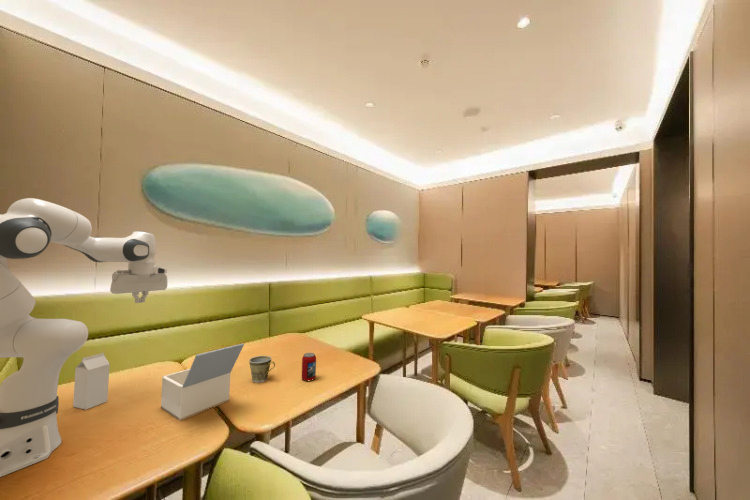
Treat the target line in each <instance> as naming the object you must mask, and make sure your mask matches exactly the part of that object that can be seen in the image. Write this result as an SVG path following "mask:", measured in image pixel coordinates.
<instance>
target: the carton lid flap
mask: <svg viewBox="0 0 750 500" xmlns="http://www.w3.org/2000/svg"><path fill="white" fill-rule="evenodd" d="M244 346H245V343H242V342H241V343H239V344H234V345H230V346H225V347H226V348H225V347H222V348H219V349H215V350H210V351H206V352H201V353H199V354H198V353H197V354H196V355H195V357H194V358H193V361H192V364H191V366H190V368H189V369H190V370H189V373H188V375H187V377H186V380H185V382H184V384H183V388H185V387H188V386H191V385H194V384H197V383H200V382H203V381H206V380H209V379H212V378H215V377H218V376H221V375H225V374H228V373H230V374H231V373H232V371H233V368H234V366H235V365H236V362H237V360H238V359H239V355H240V354H241V352H242V350H243V347H244Z"/></svg>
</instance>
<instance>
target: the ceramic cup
mask: <svg viewBox="0 0 750 500" xmlns="http://www.w3.org/2000/svg"><path fill="white" fill-rule="evenodd" d="M248 362H249V367H250V373H251V374H250V375H251V380H252V382H253V383H256V384H257V383H264V382H265V381H267V380H268V377H269V373H270V372H271V371H272V370H273V369H274V368H275V367H276V363H275V361H272V357H271V356H269V355H258V356H254V357H253V356H252V357H251V358H250V359H249V361H248ZM271 364H273V367H271V368H270V366H271Z"/></svg>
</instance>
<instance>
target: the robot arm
mask: <svg viewBox="0 0 750 500" xmlns="http://www.w3.org/2000/svg"><path fill="white" fill-rule="evenodd" d="M92 231H93V227H92V223H91V221H90V220H89V219H88V218H87V217H86V216H84V215H82V214H81V213H79V212H77V211H75V210H72V209H70V208H67V207H65V206H62V205H59V204H57V203H53V202H50V201H47V200H43V199H39V198H36V197H35V198H33V197H27V198H22V199H19V200H16V201H14V202H13V203H12V204H10V206H9V207H8V209H7V211H6V213H3V214H1V213H0V358H4V359H5V358H23V361H22V364H21V366H20V369H19V370H17V371H15V372H13V373H11V374H9V376H8V375H7V377H6V378H4V379H3V380H2V382H1V383H0V478H1V477H4V476H6V475H9V474H11V473H13V472H16V471H19V470H21V469H24V468H26V467H29V466H31V465H33V464H37V463H39V462H41V461H43V460H46V459H48V458H49V457H50V456H51V454H52V452H53V451H54V450H55V449H57V448H58V447H59V446H60V445H61V444H62V441H63V440H62V437H61V435H60V432H59V429H58V428H59V427H58V419H57V418H58V417H57V414H59V413H58V412H59V406H60V404H59V398H60V397H59V395H58V385H59V378H60V374H61V370H62V368H63V366H64V364H65V362H66V361H68V359H69V357H71V356H72V355H73V354H74V353H76V352H77V351H79V350H80V349H81V348H82V347H83V346H84V345H85V344H86V342H87V341H88V338H89V329H88V327H87V325H86V324H85V323H84V322H83V321H79V320H74V319H69V318H37V317H34V316H31V315H30V314H31V313H32V312H33V310H34V308H35V306H36V299H35V297H34V296H33V295H32V293H31V292H30V291H29V290H28V288H26V286H25V285H24V284H23V282H21V281H20V280H19V278H18V277H17V276H16V275H15V274H14V273H13V272H12V271H10V268H9V266H8V259H11V260H23V259H31V258H34V257H38V256H39V255H41V254H42V253H43V252H44V251H46V249H47V248H48V246H49V245H50V242H51V243H52V244H58V245H61V246H64V247H66V248H69V249H72V250H74V251H76V252H79V253H81V254H83V255H84V256H85V257H86V258H88V259H89V260H90V261H92V262H95V263H128V266H127V269H126V270H124V269H123V270H120V269H119V270H118V269H117V270H116V271H114V272H113V273H112V275H111V284H110V289H109V292H110V293H111V294H115V295H118V294H119V295H120V294H131V296H133V298H134V304H139V303H146V298H147V297H148V295H149V292H156V291H166V290H167V288H168V276H167V273H168V270H167V268H164V267H161V266H157V265H156V260H155V256H156V253H157V242H156V236H155V235H154V233H151V232H147V231H141V230H136V231H135V230H134V231H132V233H131V234H130V235H128V236H124V237H105V236H91V234H92ZM140 293H141V294H142V295H141V297H139V295H140Z"/></svg>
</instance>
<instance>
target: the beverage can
mask: <svg viewBox="0 0 750 500" xmlns="http://www.w3.org/2000/svg"><path fill="white" fill-rule="evenodd" d="M316 373H317V357H316V354H315V353H314V352H306V353H304V354H303V356H302V359H301V380H302V381H304V380H306V381H305V382H309V381H308V380H312V379H313V380H315V379H316V376H317V375H316ZM314 378H315V379H314ZM313 380H312V381H313Z"/></svg>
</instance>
